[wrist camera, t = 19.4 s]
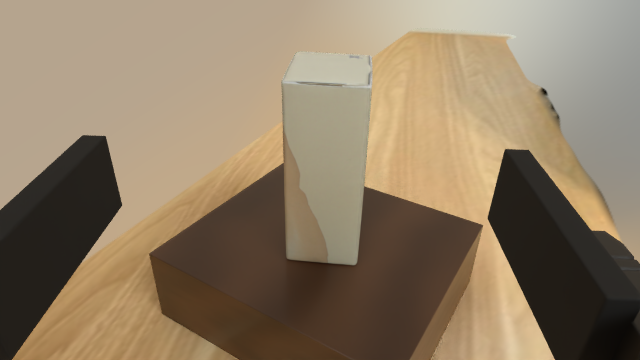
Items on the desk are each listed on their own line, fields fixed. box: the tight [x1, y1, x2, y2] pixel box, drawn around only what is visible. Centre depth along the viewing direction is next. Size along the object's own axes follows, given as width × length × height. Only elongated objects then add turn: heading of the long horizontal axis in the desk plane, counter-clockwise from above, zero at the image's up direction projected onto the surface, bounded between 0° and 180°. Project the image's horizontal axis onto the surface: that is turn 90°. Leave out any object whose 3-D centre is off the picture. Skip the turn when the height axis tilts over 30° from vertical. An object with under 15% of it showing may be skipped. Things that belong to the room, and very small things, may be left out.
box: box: [282, 52, 372, 265], centre depth 26 cm, size 5×4×11 cm
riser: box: [149, 163, 483, 360], centre depth 30 cm, size 16×14×5 cm
